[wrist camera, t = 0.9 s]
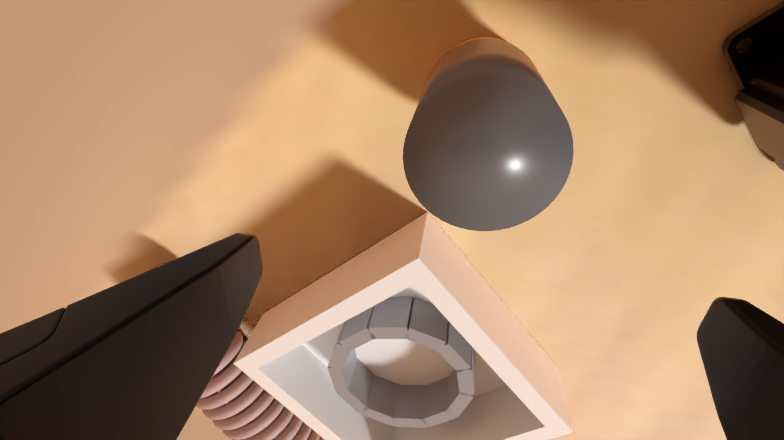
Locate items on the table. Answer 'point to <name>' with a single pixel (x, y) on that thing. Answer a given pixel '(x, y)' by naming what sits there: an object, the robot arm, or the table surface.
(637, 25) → the table surface
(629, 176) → the table surface
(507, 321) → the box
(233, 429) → the coil
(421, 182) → the plug
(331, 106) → the table surface
